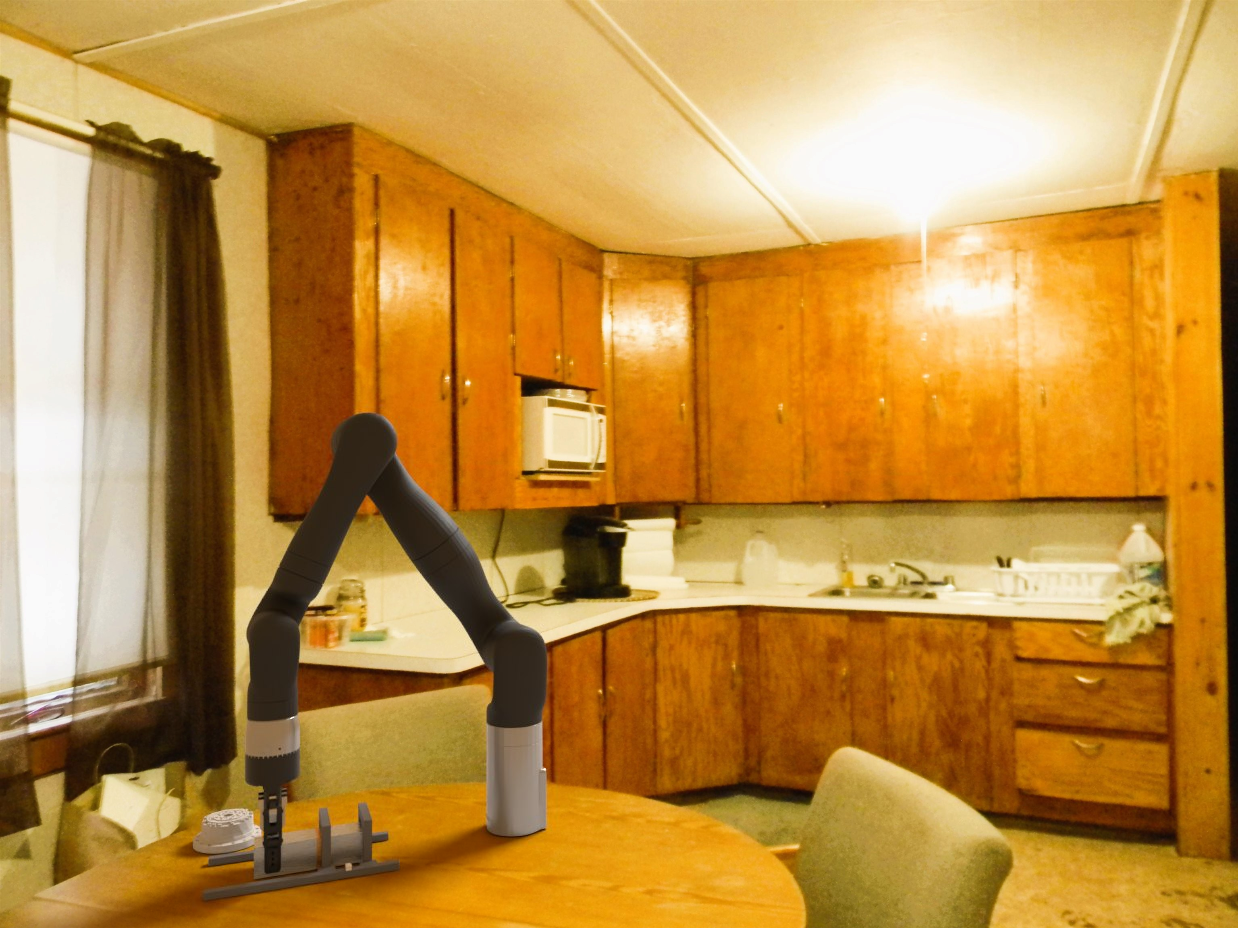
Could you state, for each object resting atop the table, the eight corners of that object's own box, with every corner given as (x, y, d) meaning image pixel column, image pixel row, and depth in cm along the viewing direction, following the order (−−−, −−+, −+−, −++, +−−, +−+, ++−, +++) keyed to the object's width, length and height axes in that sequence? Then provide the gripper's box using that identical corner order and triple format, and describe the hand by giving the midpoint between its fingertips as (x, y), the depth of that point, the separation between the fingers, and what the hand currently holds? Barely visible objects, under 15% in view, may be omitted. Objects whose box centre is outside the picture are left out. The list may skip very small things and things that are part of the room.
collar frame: (387, 837, 141) (387, 794, 141) (399, 869, 128) (399, 822, 128) (208, 863, 131) (209, 816, 131) (202, 900, 118) (203, 849, 119)
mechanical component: (178, 853, 136) (236, 857, 134) (178, 824, 136) (236, 828, 134) (219, 830, 145) (274, 833, 143) (220, 802, 146) (274, 806, 144)
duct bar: (366, 849, 135) (366, 820, 135) (369, 860, 131) (369, 830, 131) (254, 867, 129) (254, 837, 129) (253, 879, 125) (253, 847, 125)
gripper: (301, 756, 124) (301, 880, 123) (298, 732, 137) (298, 844, 136) (243, 763, 121) (243, 890, 120) (246, 738, 134) (245, 852, 133)
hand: (272, 864), depth 128 cm, fingers closed on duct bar, 4 cm apart
